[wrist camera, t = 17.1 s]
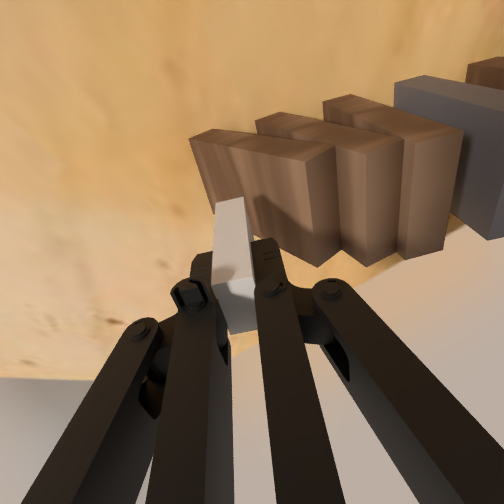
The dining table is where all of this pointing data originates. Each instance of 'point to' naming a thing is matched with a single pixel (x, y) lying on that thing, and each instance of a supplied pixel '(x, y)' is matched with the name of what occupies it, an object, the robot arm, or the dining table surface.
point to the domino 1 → (276, 188)
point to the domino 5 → (487, 73)
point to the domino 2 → (355, 180)
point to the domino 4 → (466, 144)
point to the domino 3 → (411, 167)
